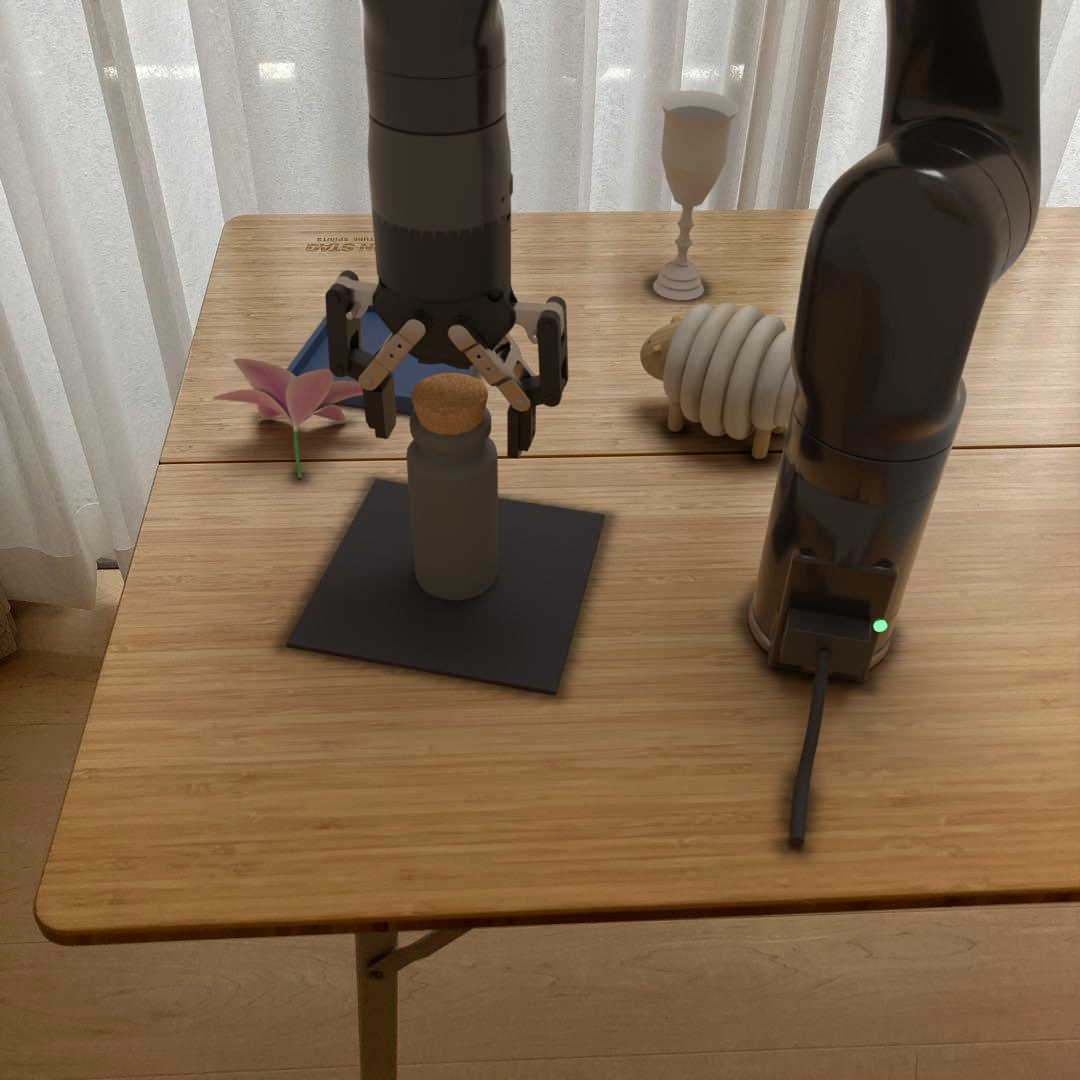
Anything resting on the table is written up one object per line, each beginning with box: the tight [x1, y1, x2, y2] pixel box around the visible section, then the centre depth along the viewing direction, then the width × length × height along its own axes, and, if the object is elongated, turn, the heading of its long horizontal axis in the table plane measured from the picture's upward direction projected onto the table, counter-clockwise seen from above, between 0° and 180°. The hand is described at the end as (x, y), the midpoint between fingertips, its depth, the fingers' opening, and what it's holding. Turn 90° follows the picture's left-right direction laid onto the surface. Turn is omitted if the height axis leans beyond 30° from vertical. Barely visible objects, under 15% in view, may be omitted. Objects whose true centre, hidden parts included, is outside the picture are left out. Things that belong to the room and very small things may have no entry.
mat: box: [285, 478, 606, 695], centre depth 78 cm, size 18×18×1 cm
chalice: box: [652, 90, 739, 301], centre depth 105 cm, size 7×7×18 cm
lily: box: [212, 357, 363, 479], centre depth 86 cm, size 12×12×10 cm
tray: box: [285, 306, 479, 415], centre depth 99 cm, size 15×15×2 cm
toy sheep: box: [639, 302, 796, 460], centre depth 88 cm, size 11×17×11 cm, turn 65°
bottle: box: [406, 373, 499, 600], centre depth 73 cm, size 6×6×15 cm
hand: (451, 441), depth 70 cm, fingers open, 8 cm apart
